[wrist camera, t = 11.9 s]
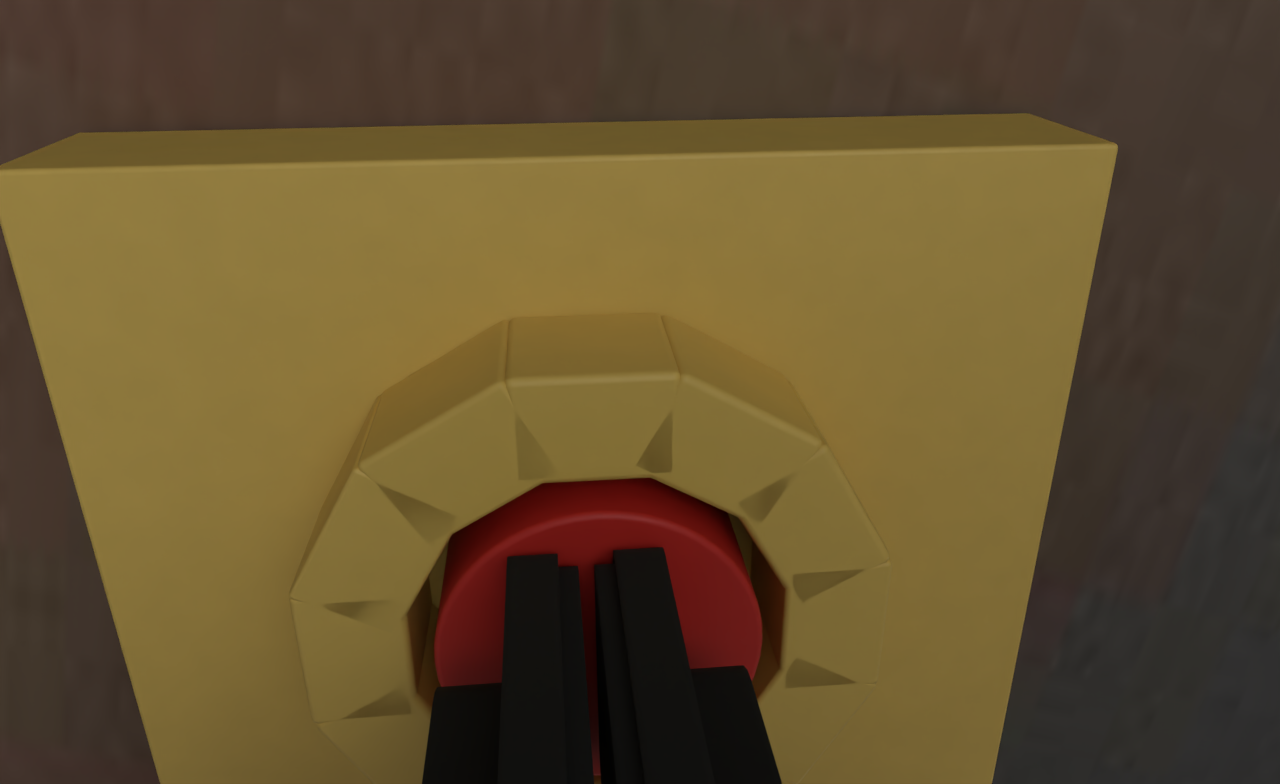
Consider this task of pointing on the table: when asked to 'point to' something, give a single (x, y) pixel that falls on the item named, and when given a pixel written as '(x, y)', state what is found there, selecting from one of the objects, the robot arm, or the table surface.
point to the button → (586, 536)
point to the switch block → (560, 403)
